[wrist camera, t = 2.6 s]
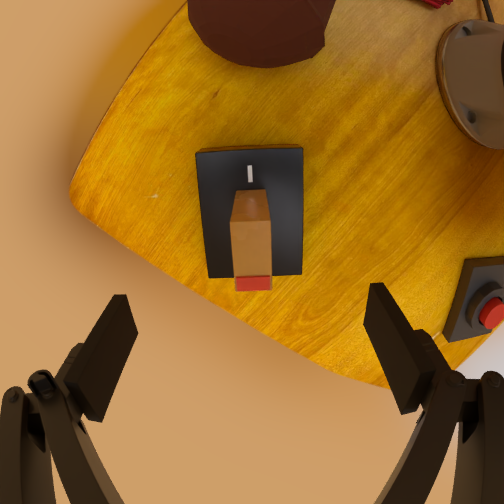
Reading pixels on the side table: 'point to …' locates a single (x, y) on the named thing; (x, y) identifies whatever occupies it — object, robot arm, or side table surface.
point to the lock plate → (252, 178)
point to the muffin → (261, 29)
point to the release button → (492, 313)
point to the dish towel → (437, 2)
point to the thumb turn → (251, 241)
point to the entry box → (474, 297)
